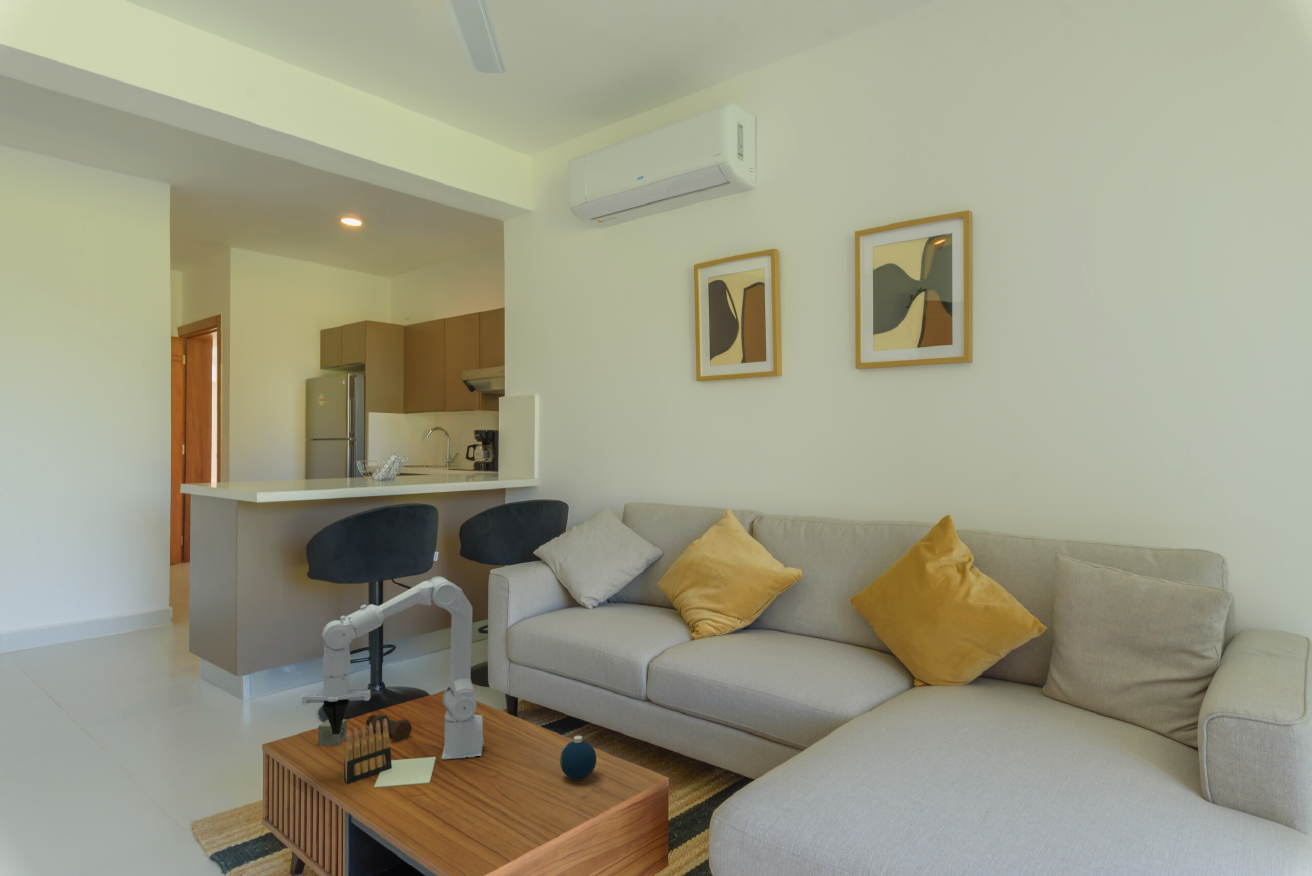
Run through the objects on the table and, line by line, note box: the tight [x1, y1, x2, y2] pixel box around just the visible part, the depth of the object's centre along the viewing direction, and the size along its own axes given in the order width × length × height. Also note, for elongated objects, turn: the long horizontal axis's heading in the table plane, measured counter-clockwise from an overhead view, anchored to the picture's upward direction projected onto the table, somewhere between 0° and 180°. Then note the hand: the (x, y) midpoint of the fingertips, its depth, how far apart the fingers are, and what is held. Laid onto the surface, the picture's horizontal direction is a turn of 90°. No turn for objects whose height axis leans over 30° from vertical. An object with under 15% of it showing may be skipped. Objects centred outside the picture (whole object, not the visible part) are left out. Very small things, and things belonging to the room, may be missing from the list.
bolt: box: [365, 713, 413, 743], centre depth 197 cm, size 6×5×15 cm
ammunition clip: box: [343, 718, 392, 785], centre depth 171 cm, size 11×2×12 cm, turn 136°
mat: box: [373, 756, 437, 789], centre depth 173 cm, size 12×14×1 cm
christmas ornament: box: [559, 734, 597, 781], centre depth 170 cm, size 8×8×10 cm
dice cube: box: [317, 718, 348, 747], centre depth 191 cm, size 5×5×5 cm
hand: (336, 732), depth 170 cm, fingers closed
